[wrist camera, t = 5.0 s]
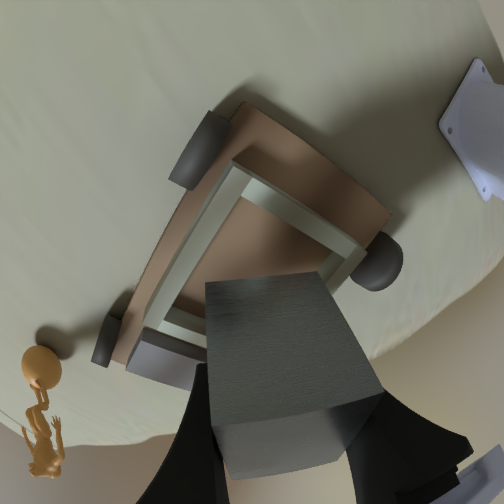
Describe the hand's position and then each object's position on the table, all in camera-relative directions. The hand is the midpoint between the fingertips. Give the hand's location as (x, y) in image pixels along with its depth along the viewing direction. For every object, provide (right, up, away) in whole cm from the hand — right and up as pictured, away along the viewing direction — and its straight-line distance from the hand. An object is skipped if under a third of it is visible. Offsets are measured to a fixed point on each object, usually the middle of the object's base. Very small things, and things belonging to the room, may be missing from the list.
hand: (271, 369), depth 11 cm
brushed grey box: (0, +1, +2) cm, 2 cm away
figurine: (-19, -5, +9) cm, 21 cm away
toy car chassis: (-2, +2, +7) cm, 8 cm away
